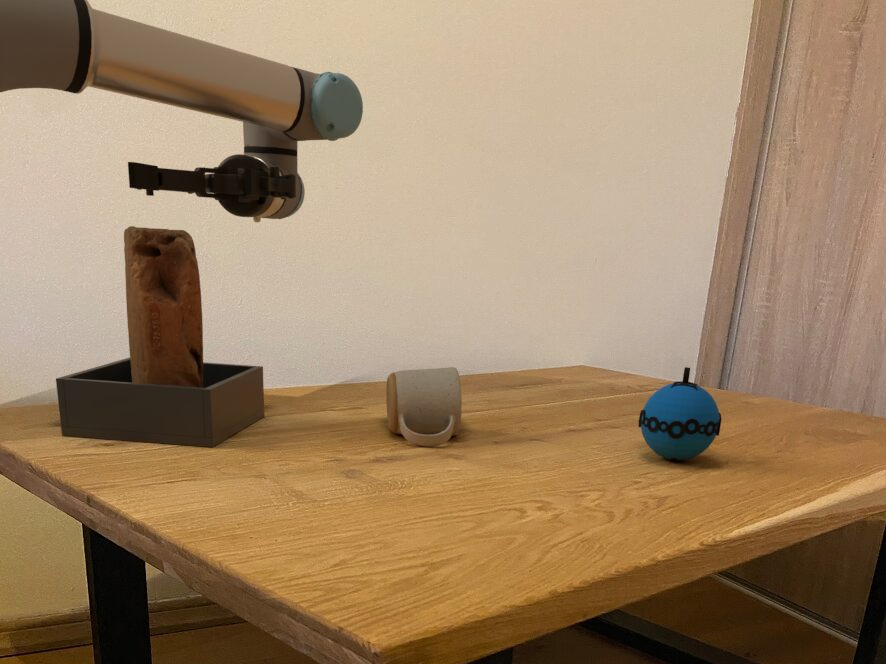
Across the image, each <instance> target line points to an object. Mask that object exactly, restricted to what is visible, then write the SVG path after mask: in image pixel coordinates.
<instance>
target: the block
mask: <svg viewBox="0 0 886 664" xmlns="http://www.w3.org/2000/svg"><path fill="white" fill-rule="evenodd" d="M123 244H124V246H123V247H124V248H123V253H124V264H125V265H124V275H125V301H126V318H127V319H126V321H127V332H128V334H127V335H128V348H129V358H130V362H131V375H132V383H144V384H158V385H171V386H185V387H199V388H203V362H204V328H203V327H204V325H203V324H204V323H203V308H202V304H203V303H202V291H201V280H200V279H201V278H200V270H199V263H198V258H197V254H196V253H197V252H196V246H195V243H194V239H193V237H192V235H191V234H190V233H189V232H187V230H183V229H169V228H154V227H137V226H135V225H134V226H133V225H131V226H128V227H127V228H125V229H124V232H123Z"/></svg>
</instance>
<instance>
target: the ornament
mask: <svg viewBox="0 0 886 664" xmlns="http://www.w3.org/2000/svg"><path fill="white" fill-rule="evenodd" d="M690 374H691V367H687V366H685V367H684V370H683V374H682V375H683V377H682V381H680V380H678V381H674V382H673V383H669V384H666V385H664V386H662V387H661V388H659V389H657V390H656V391H655V392H654V393H652V395H651V396H649V398H648V400H647V401H646V403H645V404H644V406H643V409H641V410H640V414H639V417H638V428H640V430H641V434H642V437H643V439H644V441H645V443H646V444H647V446H648V447H649V449H650V450H652V451H653V452H654V453H655V454H656V455H658V456H660V457H661V458H663V459H665V460H668V461H671V462H683V461H686V460H691V459H694V458H696V457H698V456H699V455H701V454H702V453H704V452H705V451H706V450H707V449H708V448H709V447H710V446H711V445H712V443H713V442H714V440H715V439H716V437H719V436H720V433H721V432H720V431H721V426H722V414H721V413H720V410H719V408H718V405H717V402H716V401H715V399H714V398H713V396H712V395H711V394H710V393H709V392H708V391H707V390H706V389H704V388H703V387H701V386H700V385H698V383H695V382H691V381H690Z"/></svg>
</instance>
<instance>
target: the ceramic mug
mask: <svg viewBox="0 0 886 664" xmlns="http://www.w3.org/2000/svg"><path fill="white" fill-rule="evenodd" d="M385 396H386V417H387V425H388V429H389V430H390V431H391V432H392V433H393V434H397V435H402V436H403V437H404V439H405V440H406V441H407V442H409V443H411V444H412V445H416V446H420V447H427V448H428V447H437V446H441V445H443V444H445V443H446V442H448V441H449V440H450V439H451V438H452V437H456V436H458V435H459V433H460V430H461V424H462V423H461V422H462V407H463V406H462V405H463V404H462V402H463V401H462V386H461V379H460V374H459V371H458V369H457V368H456V367H453V366H451V367H450V366H449V367H439V368H438V367H435V368H421V369H404V370H397V371H394V372H391V373H390V374H389V375H388V376H387V377H386V395H385Z"/></svg>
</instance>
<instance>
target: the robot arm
mask: <svg viewBox="0 0 886 664" xmlns="http://www.w3.org/2000/svg"><path fill="white" fill-rule="evenodd" d="M87 88H93V89H98V90H102V91H107V92H111V93H115V94H119V95H124V96H128V97H132V98H137V99H141V100H145V101H149V102H154V103H155V102H156V103H159V104H163V105H167V106H172V107H176V108H181V109H184V110H185V109H186V110H189V111H194V112H198V113H203V114H207V115H211V116H214V117H215V116H216V117H220V118H225V119H229V120H233V121H237V122H241V123H242V130H243V133H242V134H243V154H233V155H230V156H227V157H225V158H224V159H223V160H222V161H221V162H220V163H219V165H218V166H214V167H213V168H212V167H199V166H198V167H195V168H194V170H187V169H178V168H177V169H176V168H164V167H159V166H158V165H154V164H148V163H143V162H142V163H141V162H135V161H127V170H128V184H129V185H128V187H129V189H135V190H137V191H138V190H139V191H141V190H145V194H146V196H151V197H154V196H155V194H154V191H157V192H158V191H159V192H160V191H165V192H178V193H187V194H188V195H192V194H195V196H197V197H198V198H209V199H214V200H215V201H218V203H219V204H220V206H221V207H222V208H223V209H224V210H225V211H227V212H228V213H230V214H231V215H233V216H236V217H241V218H252V219H253V223H260V222H261V219H268V220H269V219H271V220H283V219H286V218H290V217H292V216H293V215H295V214H296V213H297V212H298V211H299V210H300V209H301V207H302V205H303V203H304V200H305V195H306V194H305V193H306V192H305V185H304V182H303V179H302V177H301V175H300V174H299V172H298V150H299V149H298V142H305V141H307V142H308V141H330V142H335V141H338V140H339V139H345V138H348V137H350V136H352V135H353V134H354V133H355V132H356V131H357V129H359V126H360V125H361V122H362V119H363V113H364V110H363V109H364V104H363V97H362V93H361V92H360V90H359V87H358V85H357V84H356V83H355V81H354V80H353V79H351V77H349V76H348V75H346V74H344V73H340V72H331V71H325V72H322V73H316V72H312V71H308V70H305V69H302V68H299V67H293V66H290V65H288V64H285V63H281V62H277V61H274V60H271V59H268V58H264V57H260V56H257V55H253V54H250V53H247V52H244V51H239V50H236V49H233V48H230V47H225V46H222V45H219V44H216V43H212V42H209V41H205V40H202V39H198V38H196V37H192V36H188V35H184V34H181V33H178V32H175V31H171V30H167V29H164V28H161V27H157V26H154V25H151V24H147V23H143V22H140V21H136V20H133V19H130V18H126V17H123V16H120V15H116V14H112V13H109V12H105V11H102V10H99V9H95V8H93V7H92V6H91V4H90V2H89V1H88V0H0V93H4V92H7V91H13V90H19V89H20V90H21V89H23V90H24V89H48V90H49V89H50V90H57V91H63V92H66V93H71V94H76V95H78V94H81V93H82V92H83V91H85V90H86V89H87Z"/></svg>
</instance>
